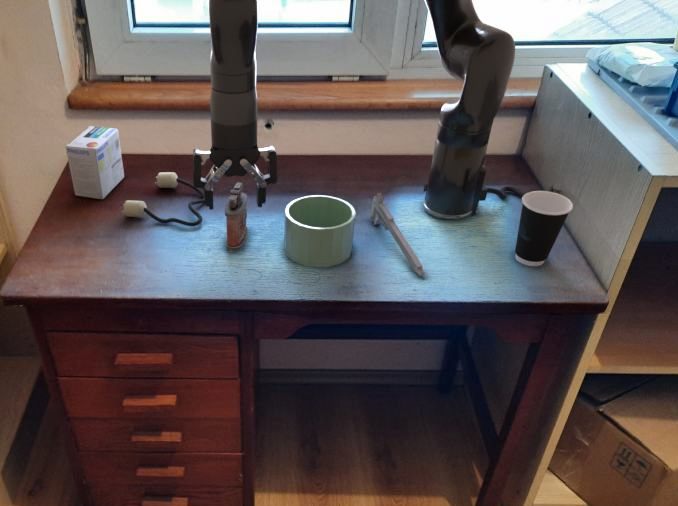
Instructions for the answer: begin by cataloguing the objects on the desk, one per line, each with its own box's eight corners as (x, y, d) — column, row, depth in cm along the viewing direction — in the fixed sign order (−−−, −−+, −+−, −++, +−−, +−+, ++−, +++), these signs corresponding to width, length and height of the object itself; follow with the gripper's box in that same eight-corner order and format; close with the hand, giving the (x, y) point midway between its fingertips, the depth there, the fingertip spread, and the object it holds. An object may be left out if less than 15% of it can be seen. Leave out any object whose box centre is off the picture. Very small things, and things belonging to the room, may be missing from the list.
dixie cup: (497, 258, 115) (512, 201, 108) (520, 241, 119) (537, 185, 112) (539, 276, 110) (558, 218, 103) (562, 259, 114) (582, 201, 107)
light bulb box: (97, 173, 141) (88, 124, 135) (125, 177, 140) (119, 127, 133) (73, 196, 134) (63, 145, 127) (104, 200, 132) (95, 149, 125)
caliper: (369, 220, 125) (373, 189, 121) (374, 219, 126) (378, 189, 122) (419, 277, 110) (425, 245, 106) (425, 276, 111) (431, 244, 107)
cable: (228, 194, 134) (227, 178, 132) (194, 233, 122) (193, 216, 120) (159, 182, 138) (157, 166, 136) (121, 218, 127) (118, 202, 124)
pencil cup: (342, 229, 123) (346, 193, 118) (358, 264, 114) (363, 226, 109) (279, 234, 122) (280, 197, 117) (290, 269, 112) (291, 231, 108)
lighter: (241, 252, 117) (240, 201, 110) (222, 250, 117) (220, 199, 111) (250, 229, 123) (250, 180, 116) (232, 228, 123) (231, 178, 117)
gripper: (190, 125, 102) (196, 219, 112) (281, 121, 103) (278, 214, 113) (188, 108, 107) (193, 198, 118) (274, 104, 109) (272, 194, 119)
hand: (235, 206), depth 115 cm, fingers open, 8 cm apart
